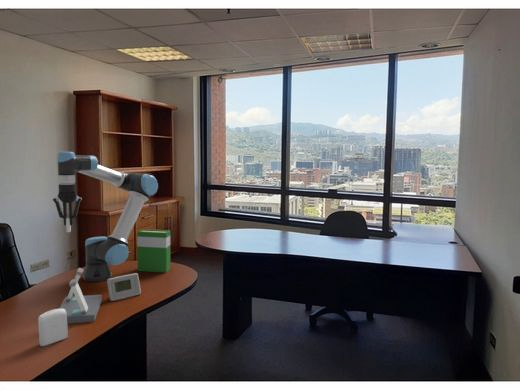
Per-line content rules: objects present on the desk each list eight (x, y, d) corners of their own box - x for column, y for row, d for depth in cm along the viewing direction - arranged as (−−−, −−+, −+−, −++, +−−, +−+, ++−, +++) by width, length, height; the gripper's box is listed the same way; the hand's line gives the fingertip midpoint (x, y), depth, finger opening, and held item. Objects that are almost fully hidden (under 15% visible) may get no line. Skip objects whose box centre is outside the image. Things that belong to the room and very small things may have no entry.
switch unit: (101, 300, 200) (101, 294, 200) (94, 321, 177) (94, 314, 177) (65, 302, 197) (65, 296, 196) (53, 324, 173) (53, 317, 173)
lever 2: (89, 307, 183) (76, 277, 180) (87, 312, 177) (74, 281, 175) (84, 309, 182) (71, 279, 179) (81, 314, 177) (68, 284, 174)
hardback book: (137, 270, 247) (137, 231, 244) (142, 267, 255) (142, 229, 252) (166, 272, 246) (166, 232, 243) (170, 268, 253) (170, 230, 250)
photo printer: (42, 347, 154) (40, 316, 153) (37, 343, 157) (35, 312, 155) (69, 338, 162) (68, 308, 160) (64, 334, 165) (63, 305, 163)
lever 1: (72, 297, 196) (84, 269, 195) (70, 302, 191) (82, 272, 190) (67, 296, 195) (78, 267, 195) (64, 300, 190) (76, 271, 189)
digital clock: (109, 302, 198) (108, 281, 197) (105, 296, 206) (105, 275, 205) (143, 297, 206) (142, 276, 205) (138, 291, 214) (138, 271, 213)
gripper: (50, 184, 194) (52, 233, 197) (80, 184, 197) (81, 232, 200) (54, 183, 201) (56, 230, 204) (82, 183, 204) (84, 229, 207)
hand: (68, 231), depth 202 cm, fingers closed
